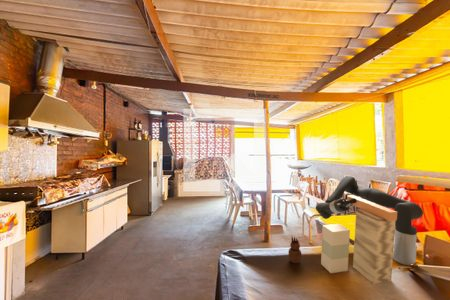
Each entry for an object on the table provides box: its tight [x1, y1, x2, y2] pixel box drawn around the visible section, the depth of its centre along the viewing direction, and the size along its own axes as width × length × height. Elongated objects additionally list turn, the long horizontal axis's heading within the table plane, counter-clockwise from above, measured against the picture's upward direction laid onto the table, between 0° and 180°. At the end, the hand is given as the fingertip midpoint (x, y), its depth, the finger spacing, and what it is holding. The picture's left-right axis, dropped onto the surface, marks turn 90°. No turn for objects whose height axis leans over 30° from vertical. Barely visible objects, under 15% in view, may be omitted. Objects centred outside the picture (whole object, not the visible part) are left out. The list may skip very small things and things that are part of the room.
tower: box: [320, 223, 351, 274], centre depth 117 cm, size 10×8×22 cm
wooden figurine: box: [288, 236, 302, 264], centre depth 123 cm, size 7×6×15 cm
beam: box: [346, 194, 397, 221], centre depth 113 cm, size 4×26×4 cm, turn 12°
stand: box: [352, 208, 396, 284], centre depth 112 cm, size 10×13×32 cm
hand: (359, 199), depth 120 cm, fingers closed on beam, 4 cm apart
